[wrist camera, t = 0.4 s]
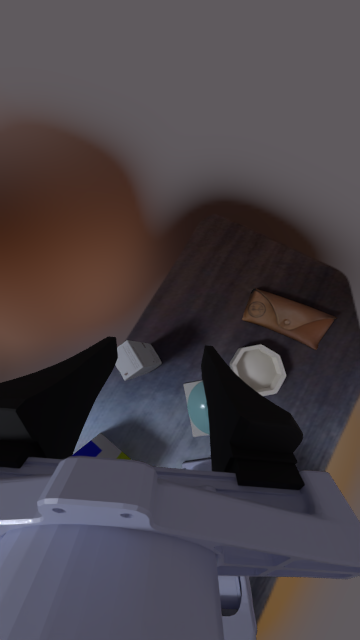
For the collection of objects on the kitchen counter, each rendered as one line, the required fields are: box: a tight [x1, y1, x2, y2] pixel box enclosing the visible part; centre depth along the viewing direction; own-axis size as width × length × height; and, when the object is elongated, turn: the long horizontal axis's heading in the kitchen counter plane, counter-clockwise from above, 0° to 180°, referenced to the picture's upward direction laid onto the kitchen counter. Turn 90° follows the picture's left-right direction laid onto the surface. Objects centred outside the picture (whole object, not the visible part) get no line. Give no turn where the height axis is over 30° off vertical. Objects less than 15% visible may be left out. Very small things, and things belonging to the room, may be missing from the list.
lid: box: [188, 381, 210, 435], centre depth 33 cm, size 11×11×4 cm
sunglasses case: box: [242, 288, 337, 350], centre depth 36 cm, size 18×7×7 cm
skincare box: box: [115, 340, 162, 381], centre depth 33 cm, size 6×4×12 cm
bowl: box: [230, 344, 286, 396], centre depth 34 cm, size 10×10×3 cm
